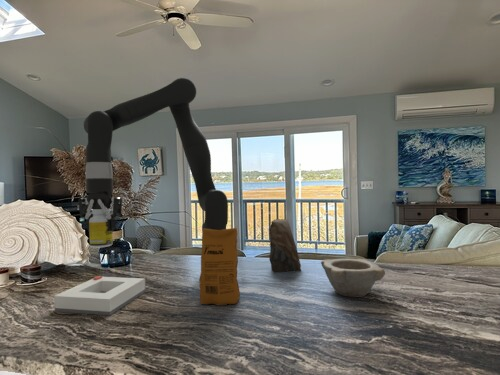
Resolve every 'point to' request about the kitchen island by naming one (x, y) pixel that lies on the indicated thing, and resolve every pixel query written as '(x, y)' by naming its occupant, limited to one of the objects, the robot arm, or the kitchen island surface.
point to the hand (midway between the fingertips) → (101, 230)
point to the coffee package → (219, 267)
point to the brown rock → (283, 248)
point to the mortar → (352, 275)
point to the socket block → (99, 295)
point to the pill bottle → (99, 230)
